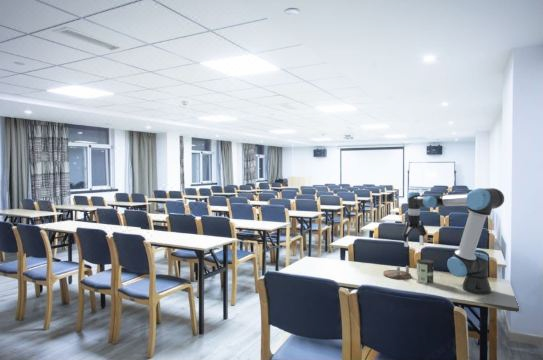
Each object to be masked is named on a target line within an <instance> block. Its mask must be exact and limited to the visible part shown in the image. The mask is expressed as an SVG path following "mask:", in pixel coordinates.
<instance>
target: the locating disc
mask: <svg viewBox="0 0 543 360" xmlns="http://www.w3.org/2000/svg"><path fill="white" fill-rule="evenodd" d="M382 274H383V276H384V277H386V278H389V279H393V280H400V281H401V280H402V281H403V280H408V279H409V280H410V279H411V277H412V274H411V273H410V266H409V265H405V270H401V267H400V266H397V267H396V269H387V270H384V271H383V273H382Z"/></svg>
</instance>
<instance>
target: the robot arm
mask: <svg viewBox="0 0 543 360" xmlns="http://www.w3.org/2000/svg"><path fill="white" fill-rule="evenodd" d="M504 202H505V195H504V193H503V192H502V191H500V189H497V188H494V187H493V188H492V187H491V188H490V187H489V188H482V187H481V188H480V187H479V188H475V189H472V190H471V191H469V192H468V193H456V194H438V195H437V194H436V195H421V193H420V192H418V191H416V192H415V191H410V192H408V194H407V204H408V205H407V214H408V215H407V220H408V222H407V221H406V222H404V227H403V229H402V231H401V237H403V242H404V244H403V246H404V247H406V248H408V247H409V237H408V236H409V234H410V233H411V231H412V230H414V229H416V230H417V232H418V234H420V235H419V245H420V246H424V242H425V241H424V240H425V236H426V235H427V231H426V229H425V226H424V222H423V221H421V216H420V215H421V208H420V207H422V208H427V209H428V208H429V209H430V208H434V207H461V206H462V207H463V206H466V207H467V210H468V212H469V213H468V216H467V219H466V224H465V226H464V229H463V233H462V235H461V240H460V243H459V246H458V248H457V249H456V250H454V253H453V256H451V257H449V258H448V260H447V265H446V266H447V269H448V271H449V272H450V274H452V275H453V276H454V277H458V278H462V277H463V278H464V280H463V283H462V289H463V291H465V292H469V293H471V292H472V294H476V295H477V294H478V295H489V294H491V293H492V288H491V285H490V282H489V257H488V254H486V253H483V252H478V251H476V250H477V248H478V247H477V246H478V244H479V241H480V238H481V234H482V231H483V228H484V225H485V222H486V219H487V217H489V216H491V213H492V210H493V209H497V208H500V207H501V206H502V205H503V204H504ZM488 293H489V294H488Z"/></svg>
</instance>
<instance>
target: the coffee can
mask: <svg viewBox="0 0 543 360" xmlns="http://www.w3.org/2000/svg"><path fill="white" fill-rule="evenodd" d="M434 263H435V262H434V261H433V260H432V259H431V260H430V259H425V258H424V259H417V260H416V283H418V284H420V285H426V286H427V285H429V286H430V285H434V267H435V265H434Z"/></svg>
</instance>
